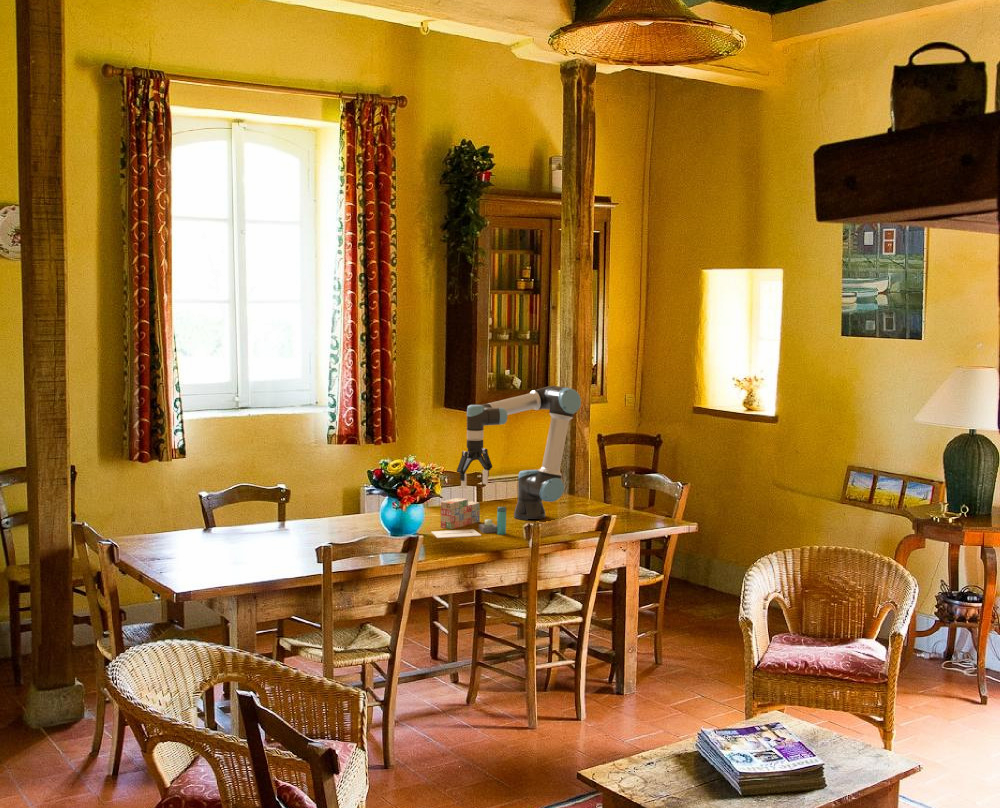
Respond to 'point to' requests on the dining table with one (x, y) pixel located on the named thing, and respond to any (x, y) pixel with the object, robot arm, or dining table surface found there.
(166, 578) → the dining table surface
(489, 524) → the button
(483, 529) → the block
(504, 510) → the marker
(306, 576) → the dining table surface
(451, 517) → the stack of blocks
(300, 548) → the dining table surface
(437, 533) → the sheet
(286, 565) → the dining table surface
